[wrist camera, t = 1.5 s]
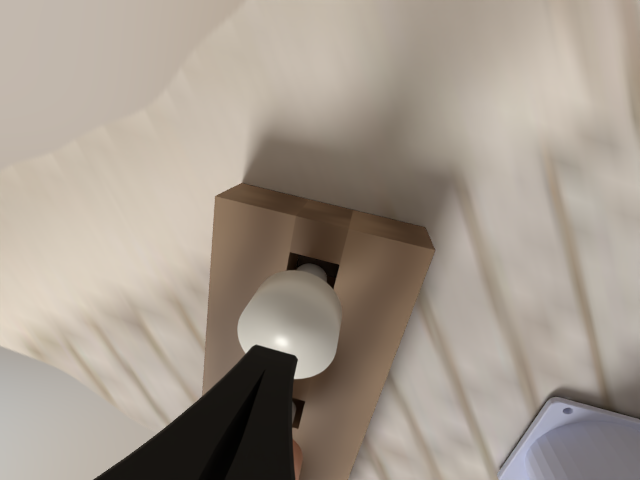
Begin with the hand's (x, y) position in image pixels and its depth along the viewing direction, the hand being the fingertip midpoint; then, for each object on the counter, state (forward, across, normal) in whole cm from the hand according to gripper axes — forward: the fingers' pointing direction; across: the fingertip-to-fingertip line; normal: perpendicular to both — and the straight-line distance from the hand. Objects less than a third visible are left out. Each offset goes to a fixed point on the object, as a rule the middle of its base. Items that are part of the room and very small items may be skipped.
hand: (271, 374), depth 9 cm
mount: (+9, 0, +9) cm, 13 cm away
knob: (+6, 0, 0) cm, 6 cm away
